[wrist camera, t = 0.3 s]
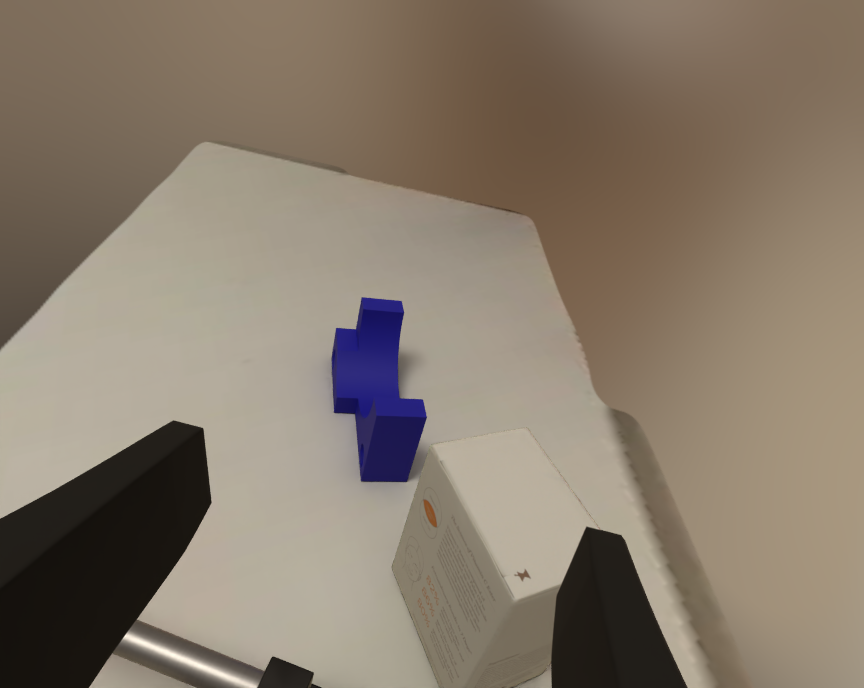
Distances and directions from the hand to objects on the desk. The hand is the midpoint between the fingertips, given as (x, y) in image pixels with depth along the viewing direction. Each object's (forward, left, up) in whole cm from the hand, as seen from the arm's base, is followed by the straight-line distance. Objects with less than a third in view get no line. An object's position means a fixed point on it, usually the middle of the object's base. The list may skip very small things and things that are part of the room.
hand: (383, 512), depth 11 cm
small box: (+10, -5, -21) cm, 24 cm away
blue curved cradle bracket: (+22, +5, -21) cm, 31 cm away
